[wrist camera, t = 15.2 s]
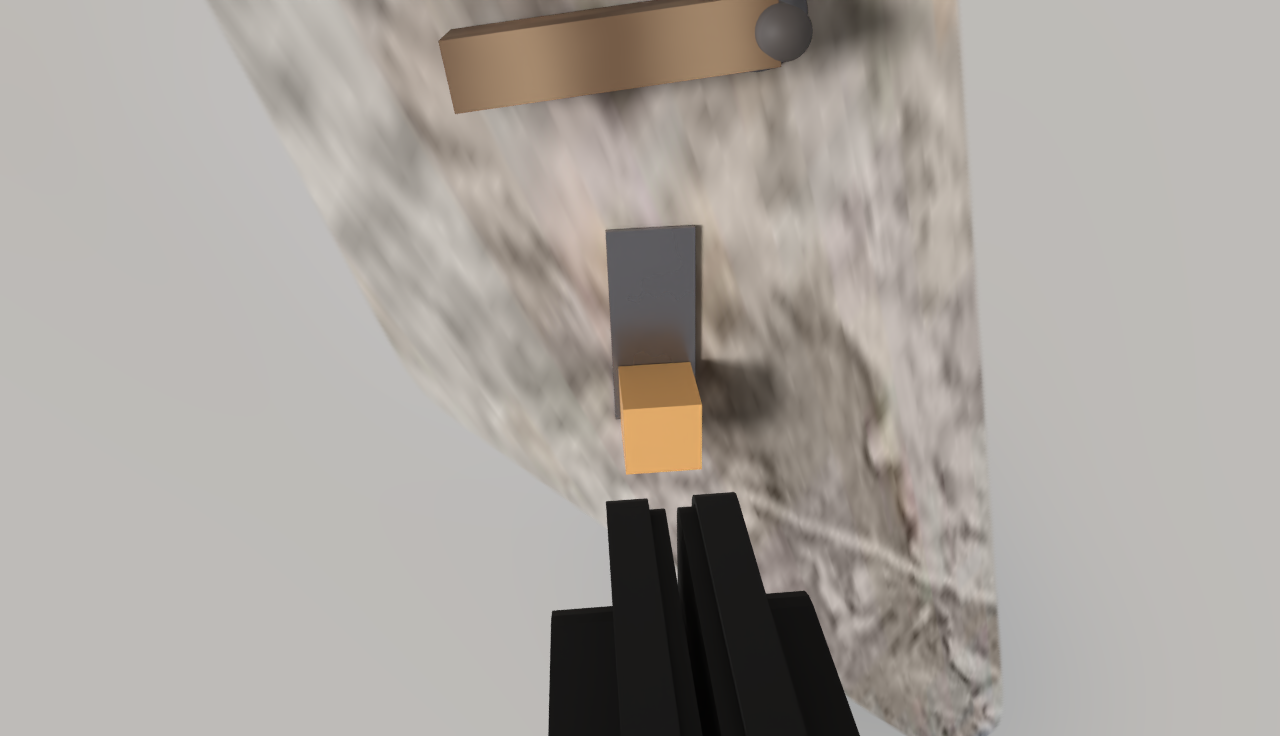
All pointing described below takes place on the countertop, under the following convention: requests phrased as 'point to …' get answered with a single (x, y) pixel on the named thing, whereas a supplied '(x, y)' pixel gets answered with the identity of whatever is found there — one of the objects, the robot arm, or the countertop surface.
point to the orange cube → (660, 418)
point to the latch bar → (617, 49)
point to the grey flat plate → (651, 297)
